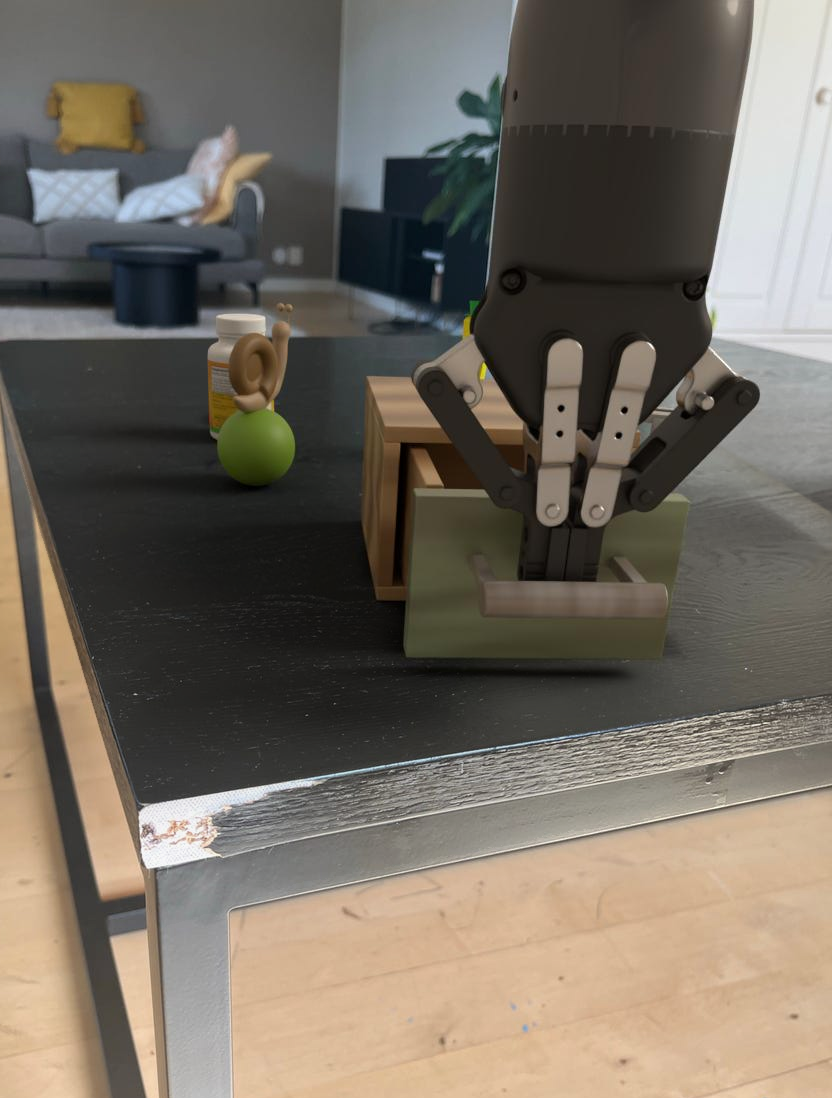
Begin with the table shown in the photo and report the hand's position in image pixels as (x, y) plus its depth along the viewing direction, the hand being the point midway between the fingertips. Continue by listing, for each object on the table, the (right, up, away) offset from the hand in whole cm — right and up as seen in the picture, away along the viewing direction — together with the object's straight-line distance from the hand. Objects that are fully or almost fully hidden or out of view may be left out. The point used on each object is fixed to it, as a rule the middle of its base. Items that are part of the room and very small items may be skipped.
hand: (552, 607), depth 40 cm
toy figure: (+1, +13, +39) cm, 41 cm away
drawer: (0, -1, +7) cm, 7 cm away
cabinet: (-1, +4, +18) cm, 18 cm away
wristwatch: (+15, +11, +36) cm, 41 cm away
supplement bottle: (-17, +16, +43) cm, 49 cm away
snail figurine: (-15, +10, +31) cm, 36 cm away
